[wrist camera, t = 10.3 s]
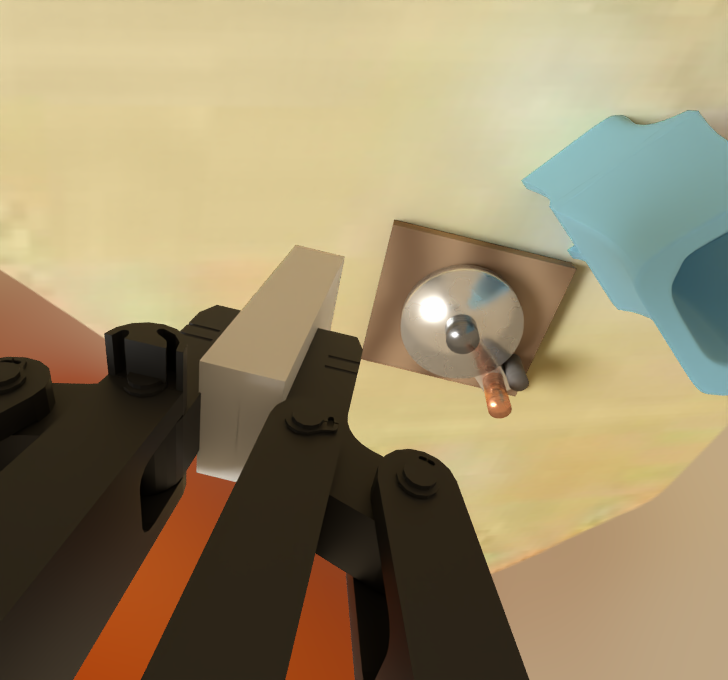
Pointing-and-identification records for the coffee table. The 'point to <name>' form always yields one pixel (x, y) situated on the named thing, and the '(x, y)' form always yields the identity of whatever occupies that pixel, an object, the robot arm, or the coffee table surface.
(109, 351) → the robot arm
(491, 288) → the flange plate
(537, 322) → the base board
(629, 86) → the coffee table surface
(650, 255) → the blue tall hollow container
